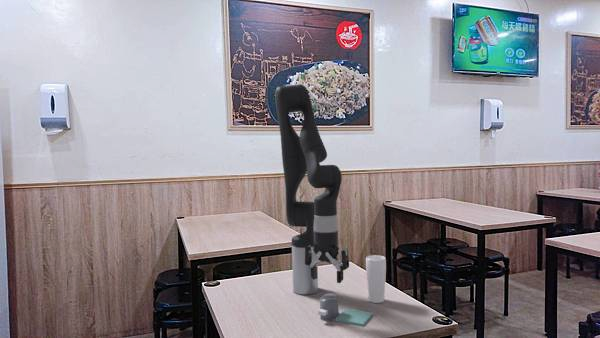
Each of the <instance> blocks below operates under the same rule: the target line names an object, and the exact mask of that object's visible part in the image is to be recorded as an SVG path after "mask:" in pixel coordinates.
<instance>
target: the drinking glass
mask: <svg viewBox="0 0 600 338" xmlns="http://www.w3.org/2000/svg"><path fill="white" fill-rule="evenodd" d="M365 272H366V281H367V283H366V284H367V291H368V292H367V293H368V301H369V302H371V303H374V304H382V303H384V301H385V294H386V293H385V290H386V289H385V288H386V278H387V277H386V274H387V259H386V257H385V256H383V255H379V254H378V255H375V254H371V255H367V256H366V257H365Z"/></svg>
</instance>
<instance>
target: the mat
mask: <svg viewBox="0 0 600 338" xmlns="http://www.w3.org/2000/svg"><path fill="white" fill-rule="evenodd" d="M373 315H374V312H372V311H371V312H370V311H364V310H359V309H354V308H353V309H352V308H347V307H346V308H345V309H343V310H342V312H341V313H339V315H338V316H337V317H336V318H335V319H334V321H335V322H339V323H345V324H350V325H356V326H361V327H364V326H365V324H367V322H368V321H369V320H370V319H371V317H372V316H373Z"/></svg>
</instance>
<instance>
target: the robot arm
mask: <svg viewBox="0 0 600 338" xmlns="http://www.w3.org/2000/svg"><path fill="white" fill-rule="evenodd" d="M274 101H275V108H276V113H277V120H278V127H279V133H280V144H281V145H280V146H281V147H280V149H281V158H282V159H281V160H282V167H283V174H284V175H283V177H284V185H285V188H284V189H285V213H286V214H285V215H286V221H287V224H288V225H289V226H290V227H301V228H303V227H305V231H303V232H301V233H300V234H296V235H294V236H292V237H291V259H292V260H291V261H292V263H291V265H292V292H293V293H295V294H298V295H312V294H316V293H317V292H318V291H319V289H318V288H319V277H318V276H319V273H318V268H319V267H318V264H319V262H321V263H323V262H326V263H328V264H329V263H331V264H332V266H334V267H335V269H336V283H337V284H340V283H342V282H343V280H344V271H346V270H347V269H348V268H350V258H349V250H348V248H344V249H340V248H339V226H338V225H339V221H338V209H337V208H338V206H337V204H338V203H337V201H338V197H339V194H340V189H341V186H342V180H343V179H342V178H343V177H342V176H343V175H342V172H341V169H340V168H339V167H338V166H337V165H335V164H321V163H322V162H324V161H325V160H326V159H327V157H328V153H327V149H326V147H325V144H324V142H323V140H322V138H321V135H320V132H319V129H318V126H317V122H316V121H317V120H316V117H315V112H314V109H313V104H312V101H311V96H310V93H309V91H308V88H307V87H306V86H305V85H304V84H290V85H282V86H277V87H276V89H275V92H274ZM299 112H301V113H302V116H303V122H302V126H301V129H300V134H298V133H297V132H296V130H295V129H294V127H293V125H292V122H291V119H290V114H292V113H299ZM305 176H306V177H307V180H308V183H309V184H310V186H311V187H313V188H315V189H324V192H323V193H322V194H320V195H317V196H315V197H314V200H313V201H298V200H297V192H298V190H299V187H300V185H301V183H302V181H303V179H304V178H305ZM338 255H339V256H338ZM340 257H341V259H340Z"/></svg>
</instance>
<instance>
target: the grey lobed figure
mask: <svg viewBox="0 0 600 338" xmlns="http://www.w3.org/2000/svg"><path fill="white" fill-rule="evenodd" d="M339 310H340V309H339V295H338V294H337V293H332V292H331V293H326V294H324V295H323V296H321V297H320V298H319V309H318V310H317V311H318V313H317V314H318V315H319V316H320V318H319V319H320V320H322V321H324V322H330V321H332V322H333V321H335V319H336V318H337V317H338V316H339V315H340V312H339Z"/></svg>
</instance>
